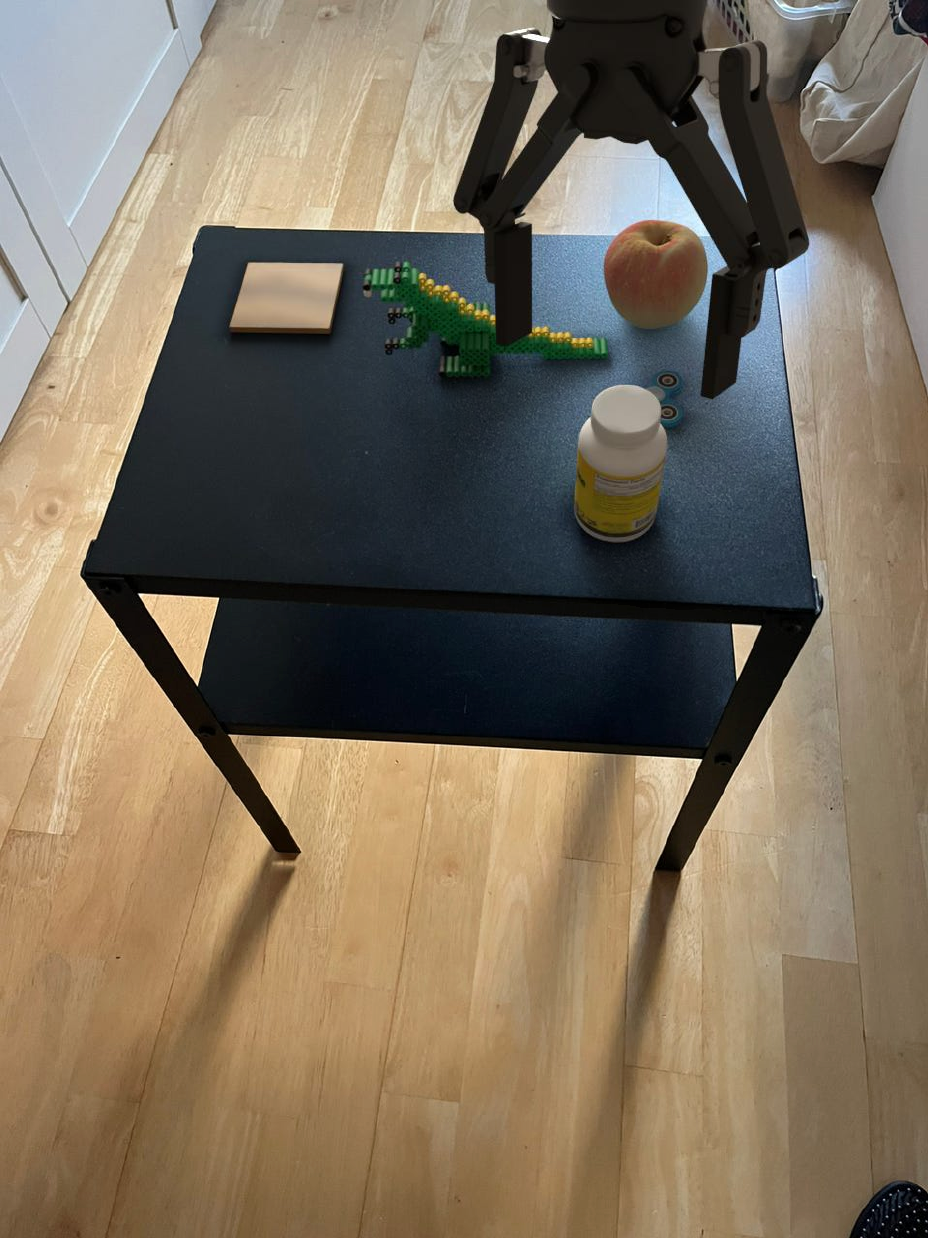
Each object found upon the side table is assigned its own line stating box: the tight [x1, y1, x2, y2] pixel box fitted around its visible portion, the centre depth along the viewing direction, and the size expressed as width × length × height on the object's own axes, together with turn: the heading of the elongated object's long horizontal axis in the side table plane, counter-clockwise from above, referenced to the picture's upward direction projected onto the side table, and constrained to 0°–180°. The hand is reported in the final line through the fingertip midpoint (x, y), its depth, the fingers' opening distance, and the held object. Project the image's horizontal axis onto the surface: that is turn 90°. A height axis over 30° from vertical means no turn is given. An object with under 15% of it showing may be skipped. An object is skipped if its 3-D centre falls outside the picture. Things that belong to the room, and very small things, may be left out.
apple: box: [603, 219, 709, 330], centre depth 88 cm, size 9×9×8 cm
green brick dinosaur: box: [362, 260, 609, 378], centre depth 86 cm, size 20×6×9 cm, turn 89°
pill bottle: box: [573, 384, 668, 543], centre depth 74 cm, size 6×6×11 cm
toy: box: [621, 369, 684, 428], centre depth 85 cm, size 6×6×1 cm
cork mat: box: [229, 262, 345, 335], centre depth 94 cm, size 9×9×1 cm
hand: (610, 363), depth 60 cm, fingers open, 13 cm apart
